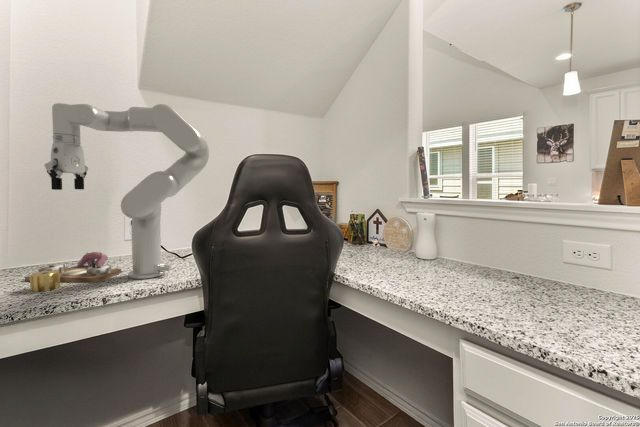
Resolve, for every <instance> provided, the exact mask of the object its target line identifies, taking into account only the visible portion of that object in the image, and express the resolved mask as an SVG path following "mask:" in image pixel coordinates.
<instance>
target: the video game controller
mask: <svg viewBox="0 0 640 427" xmlns="http://www.w3.org/2000/svg"><path fill="white" fill-rule="evenodd" d="M92 259H95V266H98V265H105V263H106V261H107V260H108V255H107V254H105V253H103V252H99V251H91V252H86V253H85V254H84V255H83V256H82V257H81V259H80V260H79V261H78V262H77V268H83V266H85V264H87V265H88V266H89V267H92Z"/></svg>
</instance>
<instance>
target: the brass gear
mask: <svg viewBox="0 0 640 427" xmlns="http://www.w3.org/2000/svg"><path fill="white" fill-rule="evenodd" d="M29 275H30V281H29V287H30V289H29V290H30V292H34V293H39V292H49V291H51V290H56V289H59V287H61V282H60V271H56V270H51V271H41V272H33V273H31V274H29Z"/></svg>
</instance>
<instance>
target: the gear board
mask: <svg viewBox="0 0 640 427" xmlns="http://www.w3.org/2000/svg"><path fill="white" fill-rule="evenodd" d="M95 261H96V259H92V266H89V267H85V268H84V267H77V268H76V267H66V265H65V264H51V265H50V264H49V265H44V266H40V267H39V268H37V271H38V272H41V271H51V270H56V271H60V283H61V282H62V283H63V282H66V283H69V282H70V283H102V282H104V281H106V280H108V279H111V278H113V277H115V276H118V275H119V274H121V273H122V272H123V271H122V268H112V267H111V265H109V264H108V265H105V264H104V265H98V266H96V265H95ZM38 272H37V273H38ZM30 275H31V274H29V275H27V276H26V275H25V276H24V281H25V282H30Z"/></svg>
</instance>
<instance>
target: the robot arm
mask: <svg viewBox="0 0 640 427" xmlns="http://www.w3.org/2000/svg"><path fill="white" fill-rule="evenodd" d="M51 111H52V112H51V116H52V141H53V142H52V144H51V145H52V146H51V151H50V161H48V162H46V163H44V167H45V169H46V170H45V171H46V173H47V174H48V176H49V178H50V180H51V181H50V183H51V184H50V185H51V190H56V191H57V190H58V191H61V190H63V178H61V177H62V175H63V173H64V174H72V175H73V176H74V177H75V178H74V180H73V181H74V182H73V183H74V185H73V186H74V190H81V191H82V190H85V179H86V175H87V172H88V170H89V167H88V166H86V161H85V160H86V159H85V153H84V150H83V146H82V145H81V126H83V127H86V128H89V129H93V130H96V131H102V132H117V133H118V132H119V133H120V132H132V133H133V132H150V133H151V132H152V133H162V134H163V135H164V136H166V138H167V139H168V140H169V141H171V142H172V143H173V144H174V145H175V146H176V147H178V148H179V149H180V150H182V151H183V152H185V153H184V155H182V157H179V159H177V160H176V161H175V162H173V163H172V164H171V165H169V167H168V168H167V169H165V170H163V171H162V170H161V171H160V170H158V171H155V172H152V173H150V174H149V175H147V176H145V178H144V179H142V180H141V181H139V183H137V184H136V185H135V186H134V187H133V188H132V189H131V190H129V191H128V192H127V193H126V194H125V195H124V196H123V198H122V199H121V200H120V210H121V212H122V214H123V215H124V216H125V217H127V218H130V219H131V230H130V231H131V255H132V258H131V260H132V270H131V271H129V272H128V273H127V276H128V278H131V279H135V280H141V279H142V280H144V279H151V278H158V277H161V276H163V275H165V274H167V273H166V272H171V270H172V266H171V264H165V262H164V261H163V260H162V248H161V247H162V246H161V239H162V238H161V217H162V216H161V215H162V203H163V202H164V201H165V200H166V199H168V198H171V197H173V196H175V195H176V196H177V194H178V193H179V192H180V191H181V190H182V189H184V187H186V185H187V184H189V183H190V182H191V181H192V180H193V179H194V178H195V177H196V176H198V174H200V172H202V171H203V169H204V168H205V167H206V165H207V163H208V161H209V158H210V148H209V144H208V142H207V140H206V138H205V136H204V135H203V134H201V133H200V132H199V131H197V130H196V129H195V128H194V127H193V126H192V125H191V124H189V123H188V121H186V120H185V119H184V118H183V117H182V116H181V115H180V114H179V113H178V112H177V110H175V109H174V108H173V107H172V106H170V105H168V104H165V103H158V104H155V105H154V106H151V107H146V106H145V107H144V106H143V107H142V106H131V107H129V109H127V110H122V111H111V110H103V109H100V108H98V107H95V106H93V105H92V104H87V103H76V104H75V103H74V104H70V103H61V102H58V103H57V102H56V103H54V104H52V107H51Z"/></svg>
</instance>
